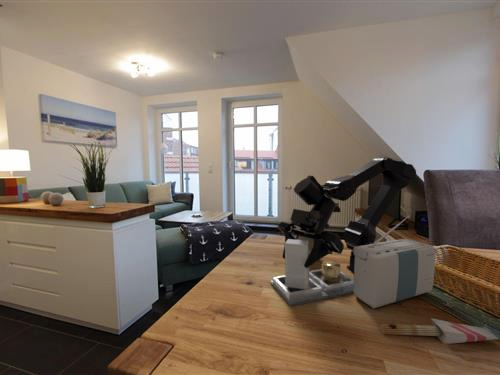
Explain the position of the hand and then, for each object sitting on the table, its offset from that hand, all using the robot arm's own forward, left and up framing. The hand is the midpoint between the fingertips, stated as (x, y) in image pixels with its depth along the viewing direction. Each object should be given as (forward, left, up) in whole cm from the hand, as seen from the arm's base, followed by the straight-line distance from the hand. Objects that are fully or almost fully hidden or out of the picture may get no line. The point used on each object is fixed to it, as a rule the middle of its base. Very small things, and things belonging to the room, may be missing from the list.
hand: (294, 262), depth 63 cm
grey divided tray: (-7, 0, -8) cm, 11 cm away
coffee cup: (-17, -21, -8) cm, 29 cm away
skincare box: (-1, 0, -7) cm, 7 cm away
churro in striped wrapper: (-18, +24, -9) cm, 31 cm away
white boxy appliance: (-23, +10, -8) cm, 27 cm away
